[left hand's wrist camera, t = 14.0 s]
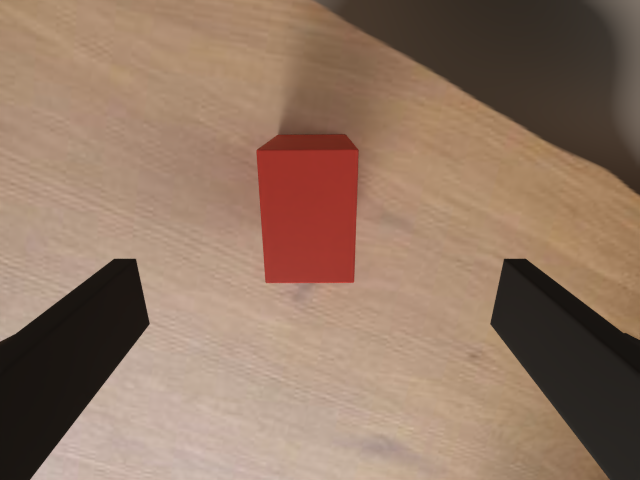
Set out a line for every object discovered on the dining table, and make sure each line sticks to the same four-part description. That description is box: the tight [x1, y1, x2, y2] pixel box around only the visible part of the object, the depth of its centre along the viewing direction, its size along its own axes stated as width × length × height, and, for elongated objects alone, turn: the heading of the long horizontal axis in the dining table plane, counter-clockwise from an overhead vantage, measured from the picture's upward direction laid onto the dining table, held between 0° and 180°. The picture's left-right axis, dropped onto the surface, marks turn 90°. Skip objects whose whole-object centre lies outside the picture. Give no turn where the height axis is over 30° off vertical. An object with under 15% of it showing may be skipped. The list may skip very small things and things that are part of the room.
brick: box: [257, 134, 358, 283], centre depth 25 cm, size 6×8×10 cm
